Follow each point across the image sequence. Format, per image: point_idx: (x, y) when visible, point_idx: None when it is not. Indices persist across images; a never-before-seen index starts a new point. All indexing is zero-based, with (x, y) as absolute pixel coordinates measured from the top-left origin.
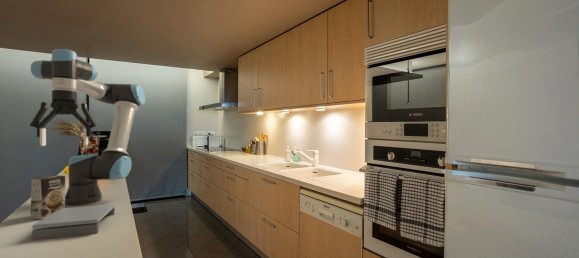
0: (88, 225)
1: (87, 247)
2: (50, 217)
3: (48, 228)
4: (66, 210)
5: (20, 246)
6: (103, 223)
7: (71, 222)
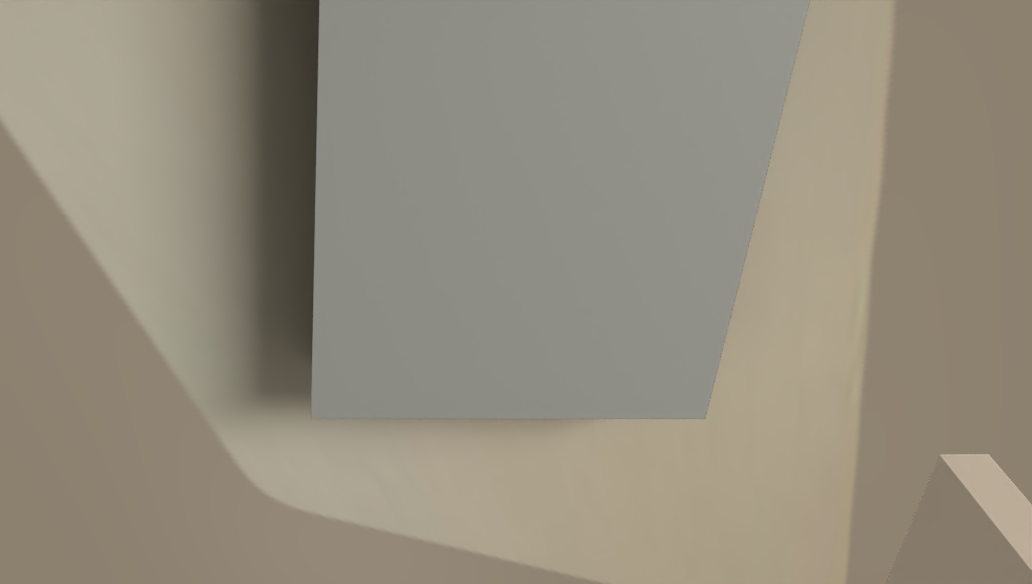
0: None
1: (645, 545)
2: (352, 247)
3: None
4: (404, 17)
5: (297, 443)
6: None
7: (546, 414)
